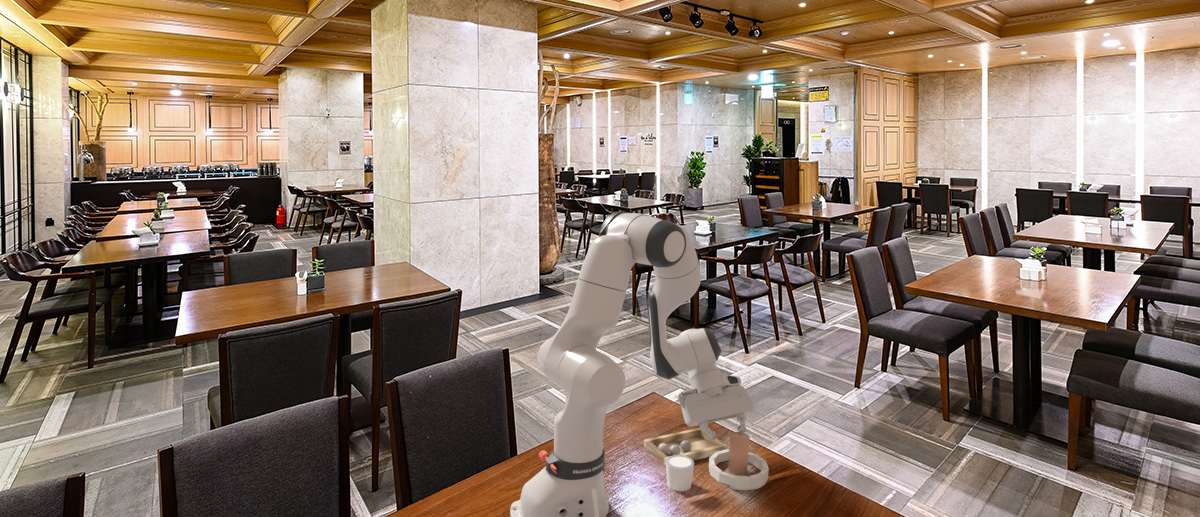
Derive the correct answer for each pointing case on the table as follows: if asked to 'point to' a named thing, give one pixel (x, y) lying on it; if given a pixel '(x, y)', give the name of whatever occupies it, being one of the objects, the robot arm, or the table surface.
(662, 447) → the pebble
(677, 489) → the shot glass
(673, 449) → the pebble
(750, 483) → the bowl
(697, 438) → the parts tray
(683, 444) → the pebble
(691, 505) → the table surface
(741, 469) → the peach cylinder
